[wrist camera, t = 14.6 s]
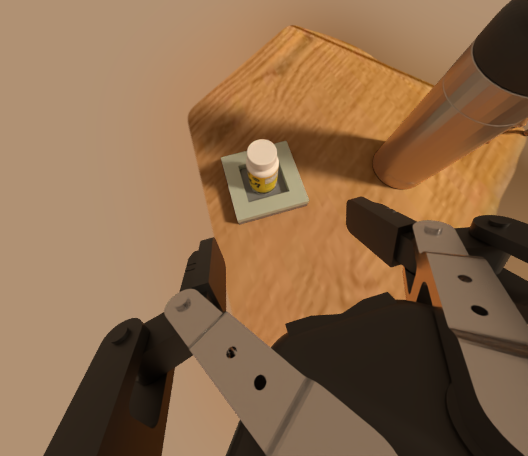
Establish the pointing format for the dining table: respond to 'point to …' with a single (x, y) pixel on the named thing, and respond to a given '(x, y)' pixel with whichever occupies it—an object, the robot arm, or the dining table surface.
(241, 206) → the recess plate
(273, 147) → the supplement bottle
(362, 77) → the dining table surface
